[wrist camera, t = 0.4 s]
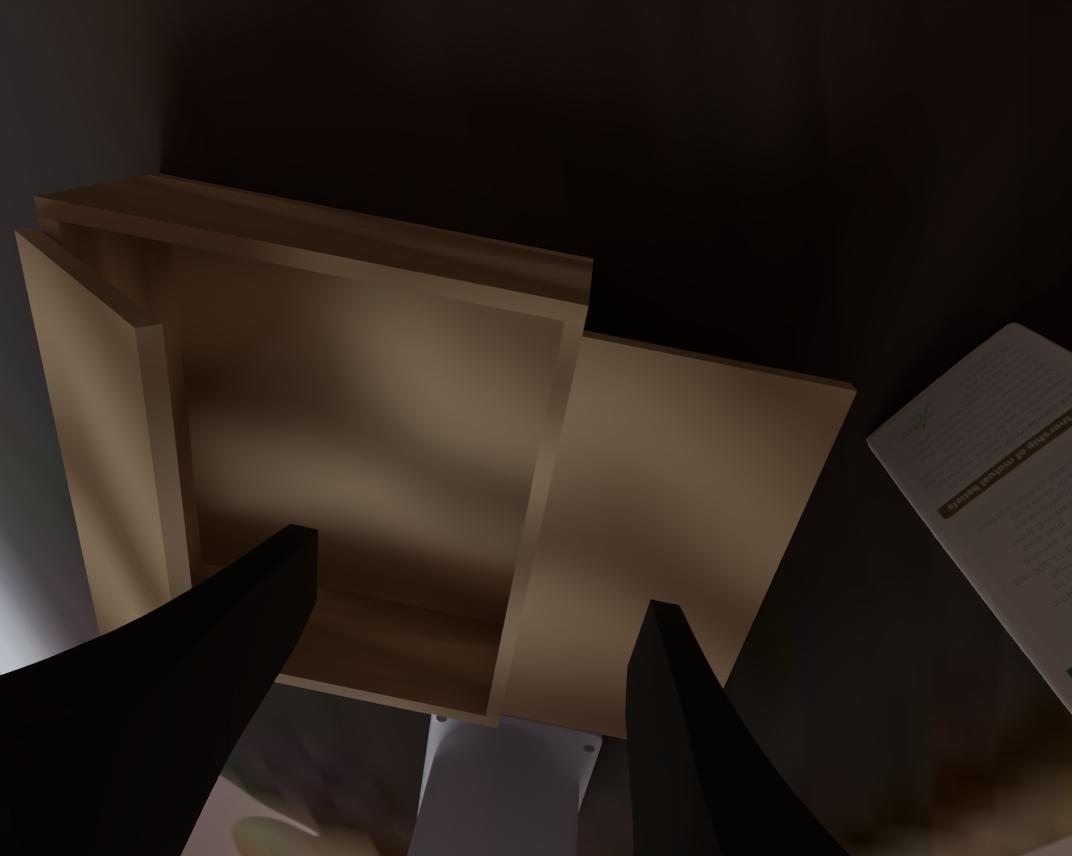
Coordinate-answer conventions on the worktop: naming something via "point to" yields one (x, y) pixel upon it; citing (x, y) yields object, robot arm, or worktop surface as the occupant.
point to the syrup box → (999, 484)
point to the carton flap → (110, 431)
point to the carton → (452, 447)
